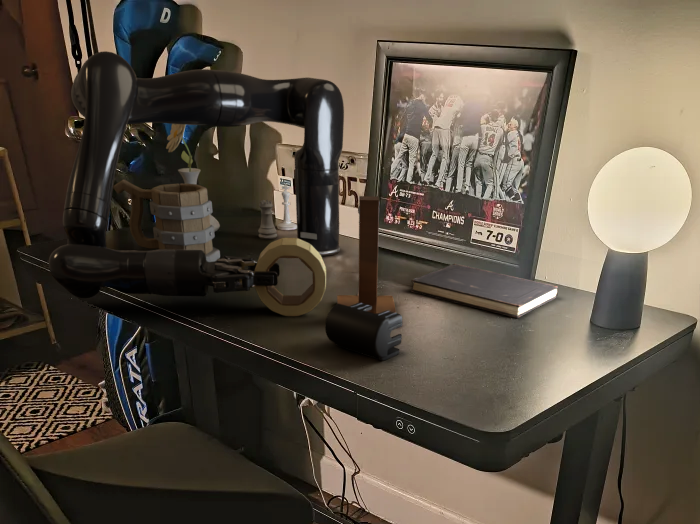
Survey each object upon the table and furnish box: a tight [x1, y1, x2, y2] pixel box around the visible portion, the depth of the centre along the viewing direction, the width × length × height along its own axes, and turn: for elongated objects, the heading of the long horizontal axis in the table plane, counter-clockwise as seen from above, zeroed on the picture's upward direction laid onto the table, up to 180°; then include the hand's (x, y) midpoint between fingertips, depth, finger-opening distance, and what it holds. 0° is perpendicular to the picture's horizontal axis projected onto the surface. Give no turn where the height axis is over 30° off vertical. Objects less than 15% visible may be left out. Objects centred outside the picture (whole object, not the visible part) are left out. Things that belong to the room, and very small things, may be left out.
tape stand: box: [336, 195, 397, 314], centre depth 126 cm, size 14×10×20 cm
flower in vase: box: [165, 124, 221, 233], centre depth 168 cm, size 13×11×25 cm
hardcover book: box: [410, 263, 559, 319], centre depth 142 cm, size 16×23×2 cm
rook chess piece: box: [257, 199, 278, 241], centre depth 172 cm, size 4×4×8 cm
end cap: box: [324, 303, 403, 361], centre depth 114 cm, size 10×7×7 cm
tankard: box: [113, 178, 221, 262], centre depth 153 cm, size 20×13×15 cm, turn 80°
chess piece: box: [276, 183, 297, 231], centre depth 180 cm, size 5×5×10 cm
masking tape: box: [254, 237, 327, 317], centre depth 127 cm, size 5×12×12 cm, turn 94°
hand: (277, 274), depth 127 cm, fingers closed on masking tape, 4 cm apart
